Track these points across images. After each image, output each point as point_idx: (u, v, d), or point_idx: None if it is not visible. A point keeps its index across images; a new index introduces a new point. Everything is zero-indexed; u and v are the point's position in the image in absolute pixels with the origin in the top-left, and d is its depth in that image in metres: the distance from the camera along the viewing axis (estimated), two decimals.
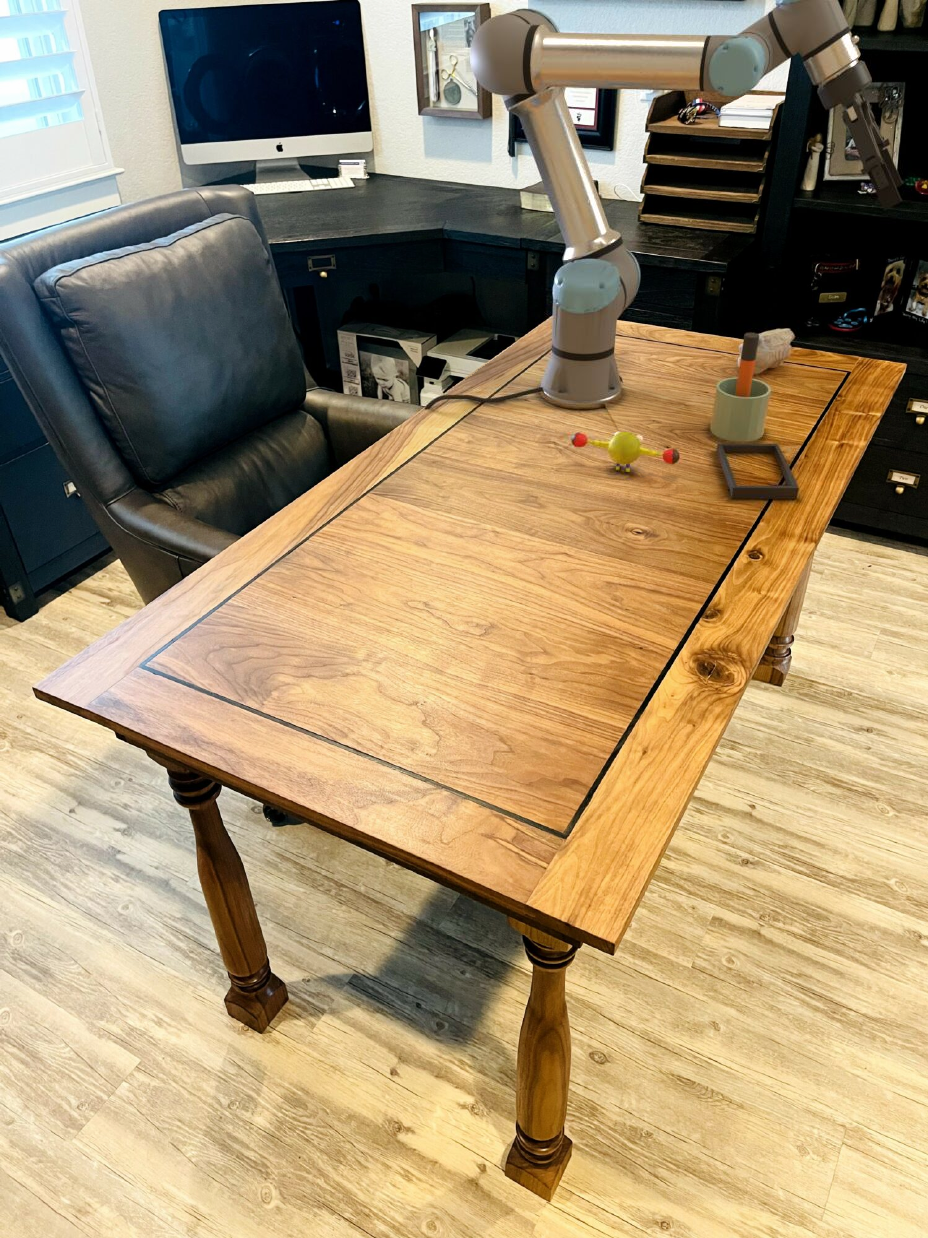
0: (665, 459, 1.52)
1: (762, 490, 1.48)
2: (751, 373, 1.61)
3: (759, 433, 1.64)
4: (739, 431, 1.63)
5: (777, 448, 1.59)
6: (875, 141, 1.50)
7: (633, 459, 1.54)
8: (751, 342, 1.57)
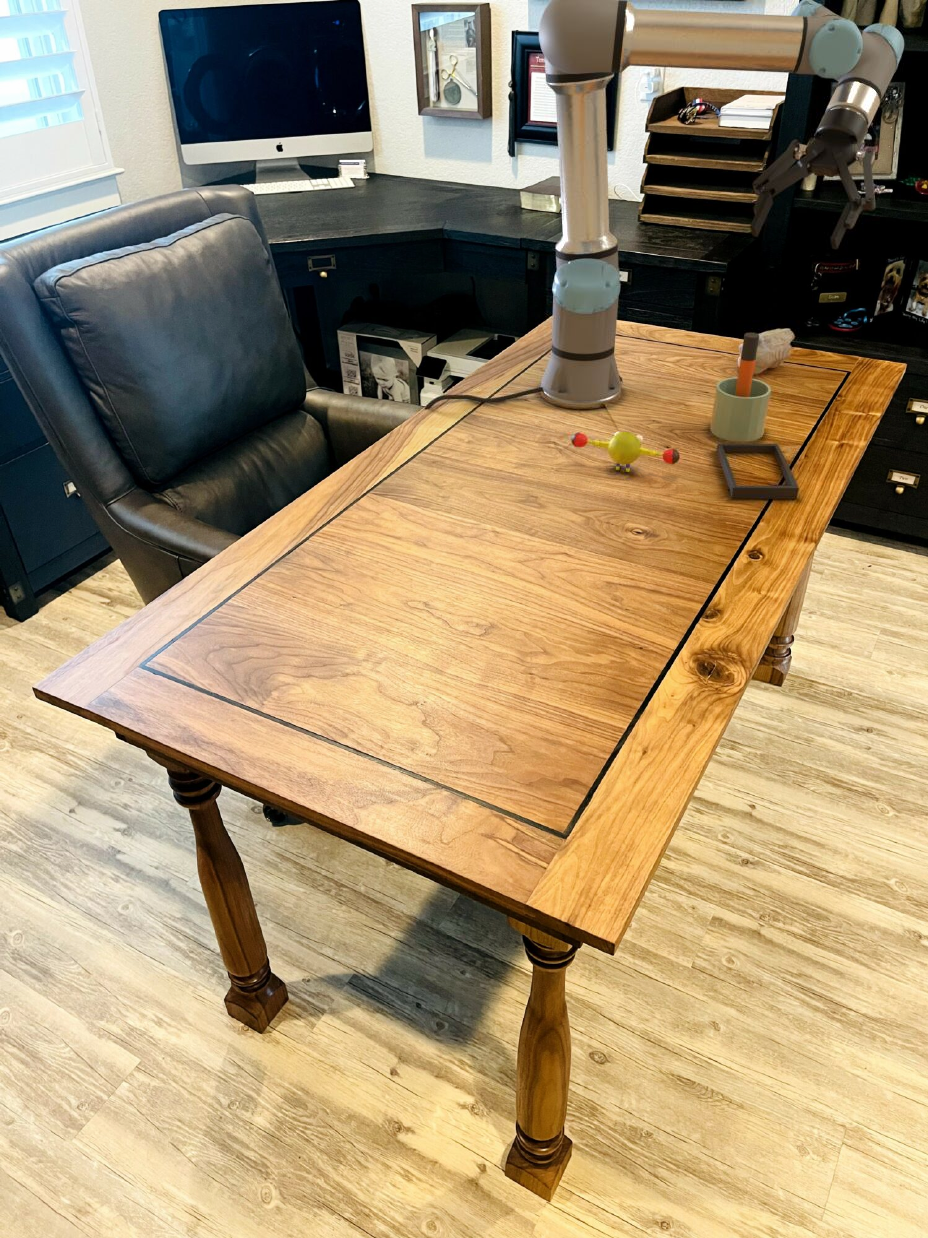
0: (665, 459, 1.52)
1: (762, 490, 1.48)
2: (751, 373, 1.61)
3: (759, 433, 1.64)
4: (739, 431, 1.63)
5: (777, 448, 1.59)
6: (848, 192, 1.55)
7: (633, 459, 1.54)
8: (751, 342, 1.57)
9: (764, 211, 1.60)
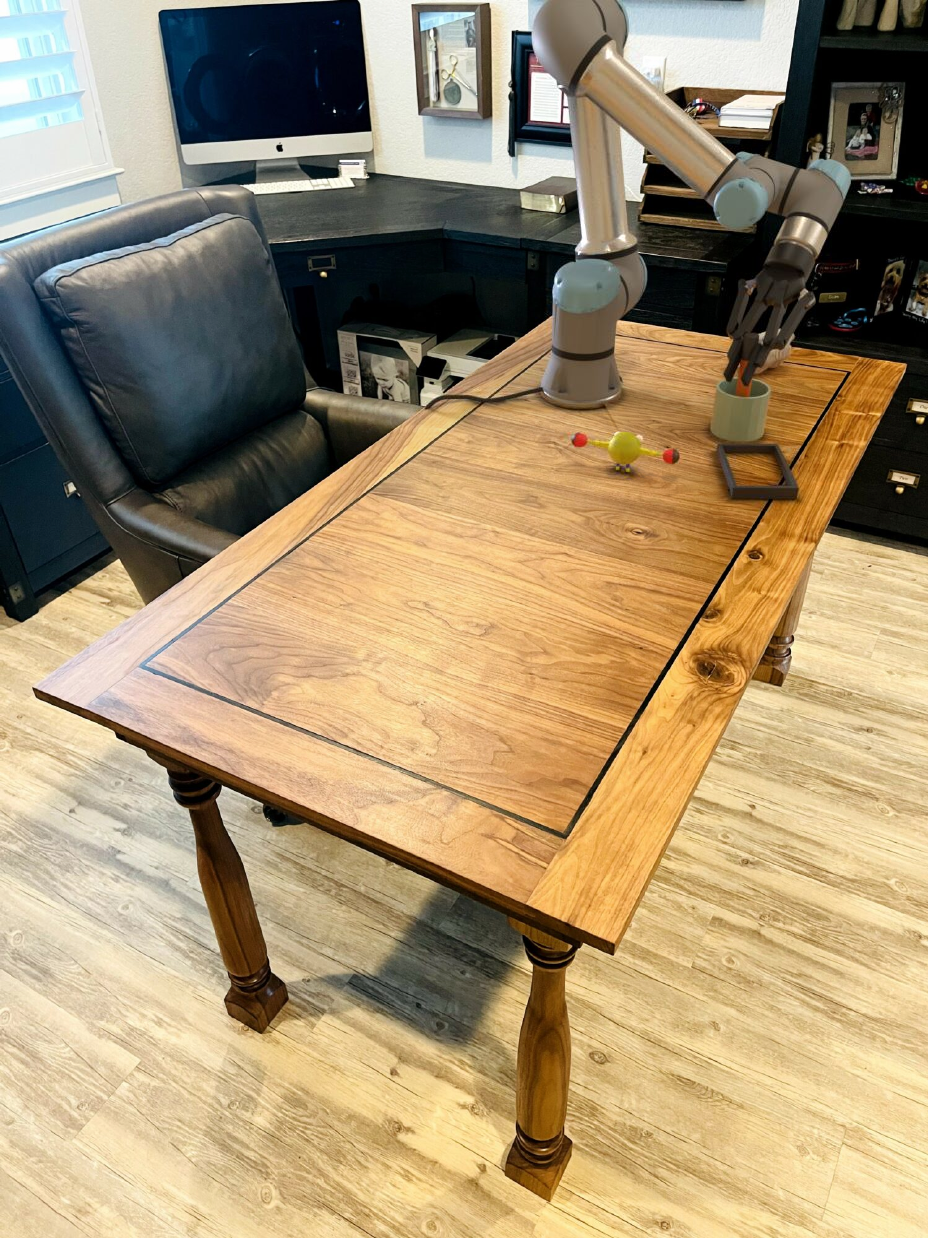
0: (665, 459, 1.52)
1: (762, 490, 1.48)
2: None
3: (759, 433, 1.64)
4: (739, 431, 1.63)
5: (777, 448, 1.59)
6: None
7: (633, 459, 1.54)
8: (751, 342, 1.57)
9: (738, 358, 1.60)
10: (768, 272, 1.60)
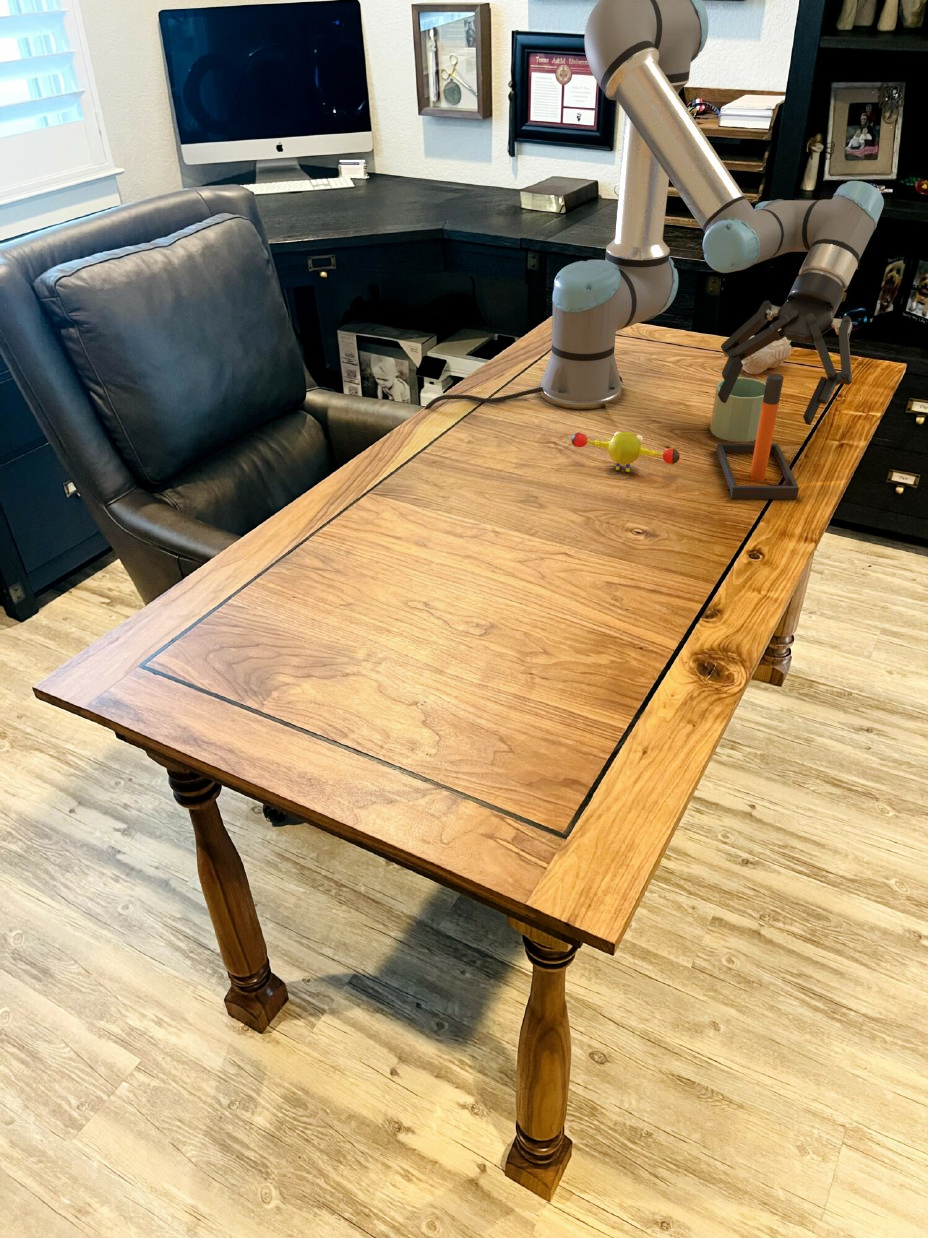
0: (665, 459, 1.52)
1: (762, 490, 1.48)
2: (774, 417, 1.47)
3: None
4: (739, 431, 1.63)
5: (777, 448, 1.59)
6: None
7: (633, 459, 1.54)
8: (775, 385, 1.43)
9: (733, 377, 1.48)
10: (793, 304, 1.46)
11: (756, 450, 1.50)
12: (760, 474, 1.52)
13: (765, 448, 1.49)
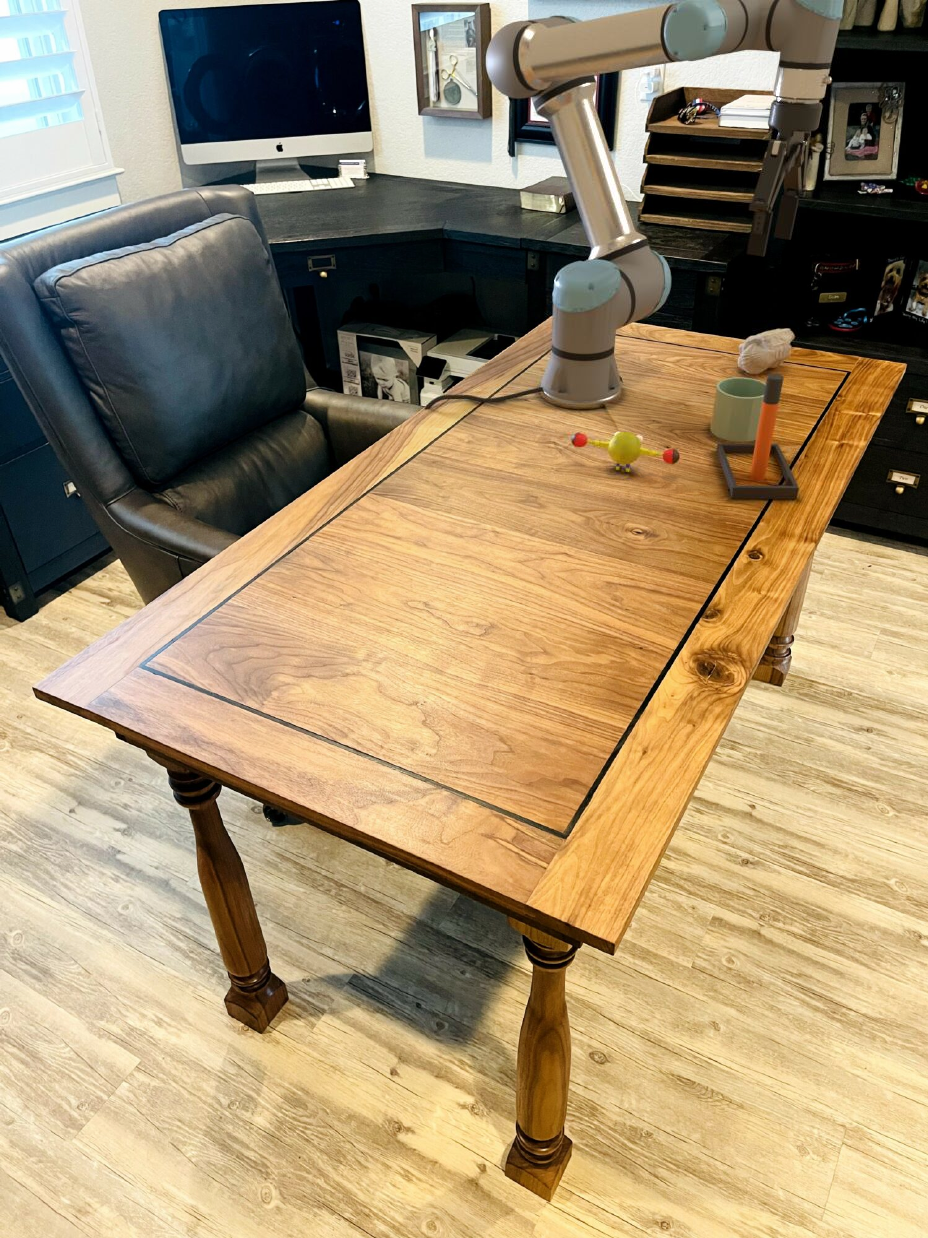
0: (665, 459, 1.52)
1: (762, 490, 1.48)
2: (774, 417, 1.47)
3: None
4: (739, 431, 1.63)
5: (777, 448, 1.59)
6: (779, 187, 1.48)
7: (633, 459, 1.54)
8: (775, 385, 1.43)
9: (785, 214, 1.60)
10: None
11: (756, 450, 1.50)
12: (760, 474, 1.52)
13: (765, 448, 1.49)
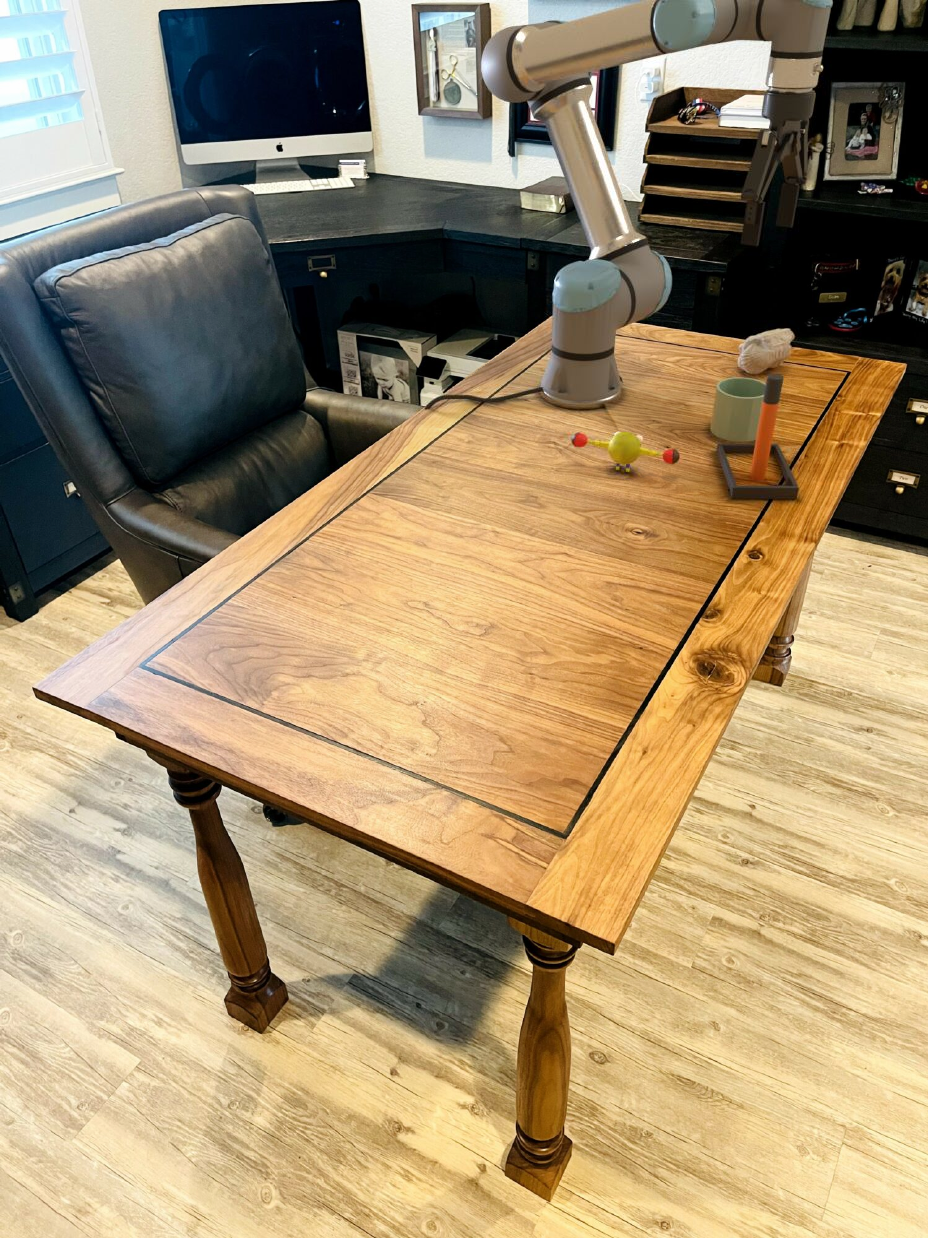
0: (665, 459, 1.52)
1: (762, 490, 1.48)
2: (774, 417, 1.47)
3: None
4: (739, 431, 1.63)
5: (777, 448, 1.59)
6: (771, 177, 1.48)
7: (633, 459, 1.54)
8: (775, 385, 1.43)
9: (786, 202, 1.60)
10: None
11: (756, 450, 1.50)
12: (760, 474, 1.52)
13: (765, 448, 1.49)
